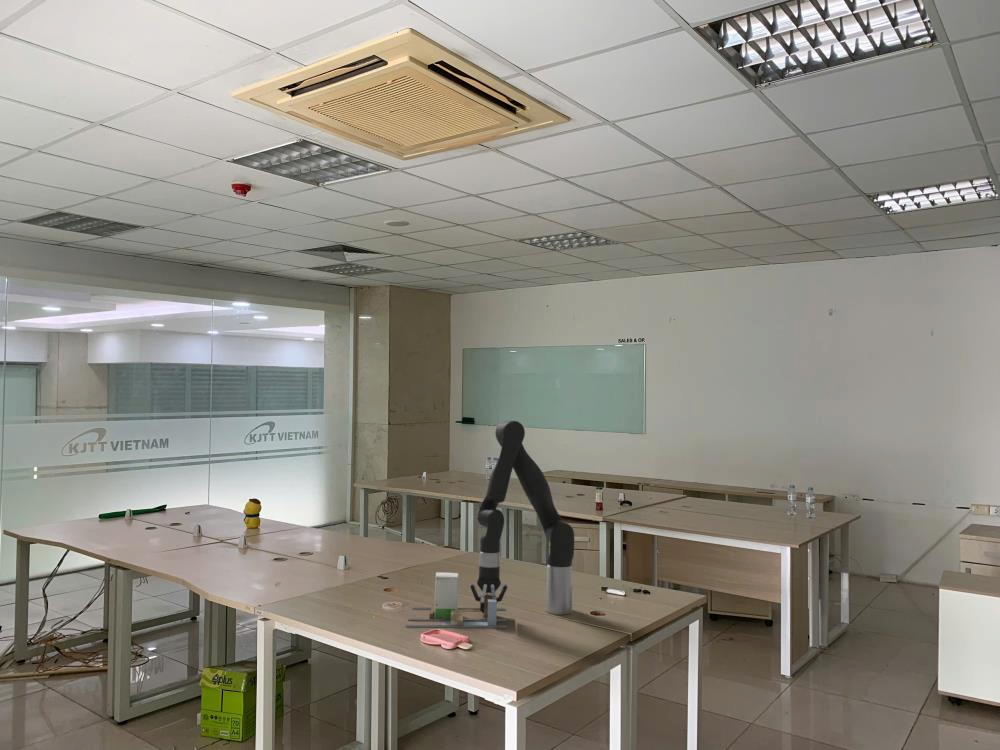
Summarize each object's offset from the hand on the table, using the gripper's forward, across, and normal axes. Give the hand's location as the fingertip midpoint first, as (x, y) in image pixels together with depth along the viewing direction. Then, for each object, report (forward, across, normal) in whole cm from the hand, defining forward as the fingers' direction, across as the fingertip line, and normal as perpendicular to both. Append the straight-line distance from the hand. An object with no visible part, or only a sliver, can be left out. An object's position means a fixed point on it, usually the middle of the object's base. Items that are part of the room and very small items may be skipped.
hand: (488, 612), depth 250 cm
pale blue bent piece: (+2, +6, +10) cm, 12 cm away
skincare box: (+2, +15, +1) cm, 15 cm away
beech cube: (+1, +11, +10) cm, 15 cm away
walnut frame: (+2, +9, 0) cm, 10 cm away
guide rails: (+2, +11, +4) cm, 11 cm away
